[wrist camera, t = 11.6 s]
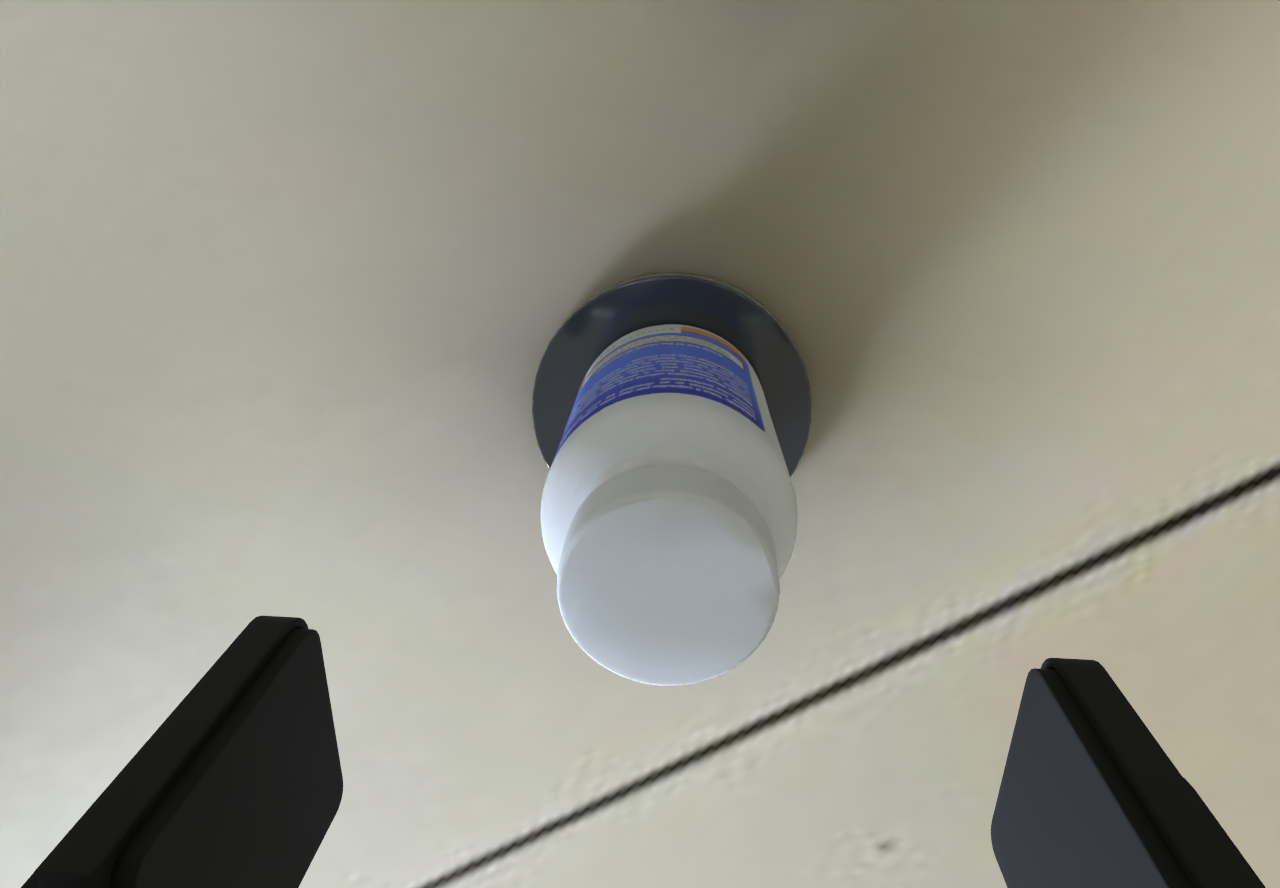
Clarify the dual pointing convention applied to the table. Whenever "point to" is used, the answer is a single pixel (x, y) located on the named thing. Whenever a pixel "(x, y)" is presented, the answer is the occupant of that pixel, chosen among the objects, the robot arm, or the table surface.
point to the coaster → (683, 305)
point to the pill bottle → (669, 509)
